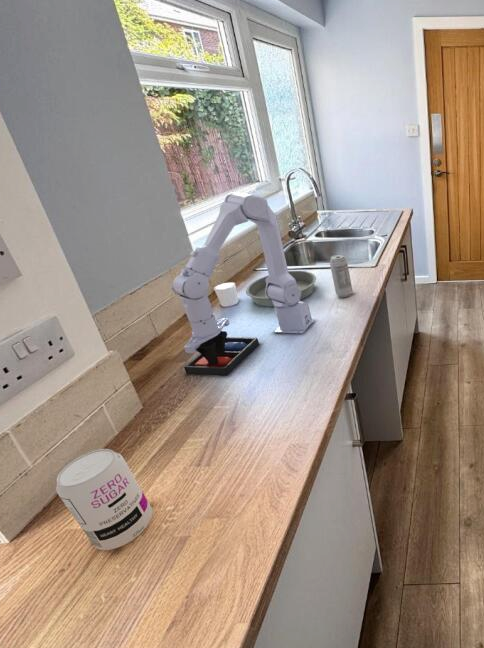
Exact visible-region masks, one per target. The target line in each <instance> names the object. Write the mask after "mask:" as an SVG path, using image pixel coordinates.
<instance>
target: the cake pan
mask: <svg viewBox="0 0 484 648" xmlns="http://www.w3.org/2000/svg"><path fill="white" fill-rule="evenodd" d="M288 272H289V274H290V275H291V276H292V277H293V278H294V279H295V280H296V283H297V286H298V287H299V288H300V290H301V297H300V300H299V301H301V300H303V299H305V298H308V297H309V296H310V295H311V294H312V293H313V292H314V285H315V283H316V281H317V277H316V275H315V274H314V273H313V272H310V271H305V270H288ZM268 276H269V274H267V275H265V276H262V277H260V278H258V279H256V280H255V281H252V282H251V283H249V284H248V286H247V287H246V288H245V293H246V295H247V296H248V297H250V298H251V299H252V300H253V302H254V303H255V304H256V305H258V306H261V307H274V305H273V302H272V299H269V298H268V297H267V295H266V293H265V289H266V278H267V277H268Z"/></svg>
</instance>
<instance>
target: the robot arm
mask: <svg viewBox="0 0 484 648" xmlns="http://www.w3.org/2000/svg"><path fill="white" fill-rule="evenodd" d="M248 222H252V223H254V224H255V225H256V227H257V231H258V235H259V239H260V244H261V248H262V253H263V257H264V260H265V265H266V269H267V273H268V274H267V276H268V275H269V276H268V277H267V278H266V289H265V293H266V295H267V297H268V298H269V299H272V302H273V305H274V306H273V308H274V311H275V315H276V319H277V323H278V327H277V328H275V330H274V333H275V334H304V333H305V332H306V331H307V329H308V328H309V327H310V326H311V325H312V324H313V323H314V322H315V320H314V319H313V318H312V314H311V313H312V312H311V310H310V305H309V304H308V303H307V302H306V301H301V300H300V297H301V290H300V288H299V287H298V286H297V283H296V280H295V279H294V278H293V277H292V276H291V275H290V274H289V272H288V271H289V268H288V264H287V260H286V255H285V250H284V245H283V241H282V236H281V232H280V227H279V223H278V218H277V215H276V214H275V212H274V211H273V209H272V208H271V206H269V203H268V200H267V199H266V198H265V197H262V196H260V195H257V194H254V193H253V194H249V193H241V192H236V191H235V192H234V191H233V192H229V193H228V194H227V195H226V196H225V198H224V200H223V202H222V203H220V206H219V213H218V215H217V217H216V219H215V221H214V223H213V226H212V227H211V230H210V232H209V234H208V236H207V238H206V240H205V242H204V244H203V245H199V246H197V247H195V249H194V250H191V251H190V253H189V256H190V257H189V259H188V261H187V262H186V265H185V267H184V268H182V269H181V270H180V274H179V275H176V276H175V277H174V279H173V281H172V286H171V290H172V291H173V292H174V293H175V294H176V295H178V296H179V298H180V301H181V304H182V306H183V309H184V312H185V315H186V317H187V319H188V323H189V324H190V327H191V330H192V332H191V338H190V339H189V341H188V342H187V343H186V344H185V345H184V346H183V349H184V351H185V352H184V353H185V354H194V353H196V352H198V354H201V355H203V356H204V357H205V359H206V360H207V361H208V362H209V364H215V365H216V364H218V358H217V357H225V341H226V337H228V332H227V331H225V330H223V329H224V328H225V327H229V326H230V325H231V323H230V321H229V318H227V317H226V318H224V317H223V318H220V319H218V320H217V318H216V316H215V313H214V310H213V307H212V305H211V302H210V299H209V296H208V294H207V293H208V292H209V289H210V284H209V280H210V277H211V276H212V273H213V272H214V270H215V268H216V267H217V265H218V263H219V261H220V260H221V256H220V253H219V251H220V249H221V248H222V246H223V245H224V243H225V241H226V240H227V239H228V237H229V235H230V234H231V232H232V230H233V229H234V228H235V227H236V226H238V225H239V226H240V225H242V224H244V223H248Z"/></svg>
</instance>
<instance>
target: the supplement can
mask: <svg viewBox="0 0 484 648" xmlns="http://www.w3.org/2000/svg"><path fill="white" fill-rule="evenodd" d="M56 482H57V483H56V486H55V492H56V493H57V495H58V497H59V498H60V500H61V501H62V502H63V504H64V505H65V507H66V508H67V510H68V511H69V512H70V514H71V515H72V517H73V518H74V519H75V521H76V522H77V524H78V526H79V527H80V528H81V529H82V531H83V533H84V534H85V535H86V537H87V539H89V541H90V543H91V544H92V545H93V547H94V548H95V549H96V550H99V551H110V550H111V551H112V550H116V549H118V548H121V547H123V546H126V545H128V544H129V543H131V542H132V541H134V540H136V539H137V538H138V537H139V536H140V535H142V533H143V532H144V531H145V529H146V528H147V527H148V525H149V524H150V523H151V520H152V519H153V515H154V514H153V513H154V512H153V511H154V509H153V508H152V506H151V504H150V502H149V500H148V499H147V497H146V495H145V494H144V492H143V490H142V487H140V485H139V483H138V481H137V479H136V478H135V476H134V474H133V472H132V471H131V469H130V467H129V465H128V463H127V461H126V460H125V458H124V457H123V456H122V454H121V453H119V452H115V451H114V450H112V449H109V448H100V449H95V450H92V451H89V452H87V453H84V454H83V455H80V456H78V457H77V458H75V459H73V460H72V461H70V462H69V463H68V464H67V465H66V466H64V467H63V468H62V469H61V471H60V472H59V473H58V474H57V478H56Z"/></svg>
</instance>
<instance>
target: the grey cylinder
mask: <svg viewBox="0 0 484 648" xmlns="http://www.w3.org/2000/svg"><path fill="white" fill-rule="evenodd" d="M329 267H330V271H331V272H330V273H331V276H332V281H333V287H334V291H335V295H336V296H338V298H347V297H350V296H351V295H352V294H353V285H352V280H351V275H350V270H349V263H348V259H347V258H346V257H345V254H341V253H340V254H334V255H331V256H330V260H329Z"/></svg>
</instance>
